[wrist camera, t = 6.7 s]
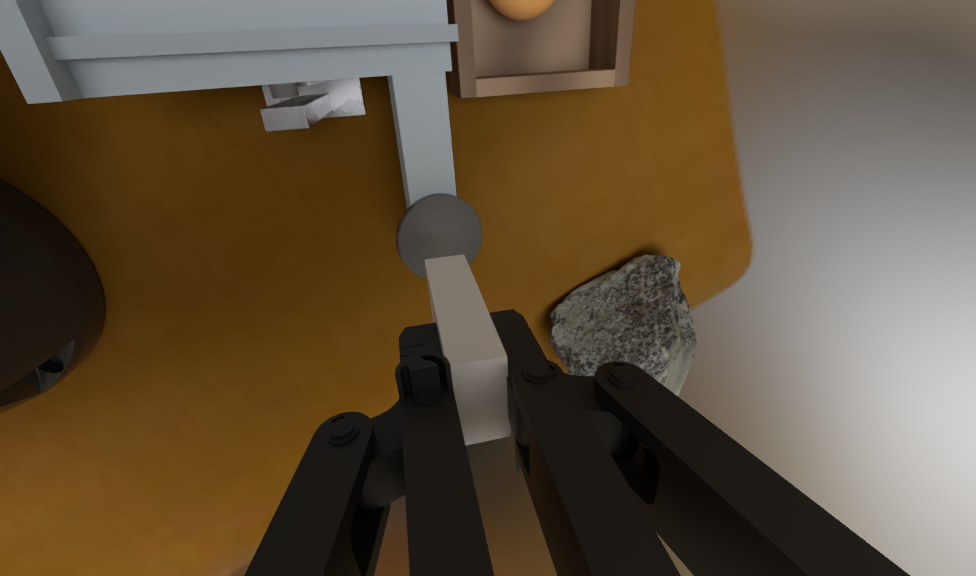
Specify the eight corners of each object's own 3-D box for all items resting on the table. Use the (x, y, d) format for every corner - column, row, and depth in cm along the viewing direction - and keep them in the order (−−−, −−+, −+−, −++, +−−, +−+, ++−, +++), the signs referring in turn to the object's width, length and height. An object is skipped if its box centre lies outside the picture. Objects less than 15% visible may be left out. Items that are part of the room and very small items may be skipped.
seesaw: (173, 335, 19) (163, 372, 17) (-110, -268, 11) (-210, -364, 9) (473, 259, 25) (497, 279, 22) (438, -182, 16) (470, -226, 14)
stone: (662, 330, 23) (663, 459, 28) (714, 252, 30) (708, 366, 34) (517, 299, 29) (538, 409, 34) (586, 239, 36) (596, 338, 40)
